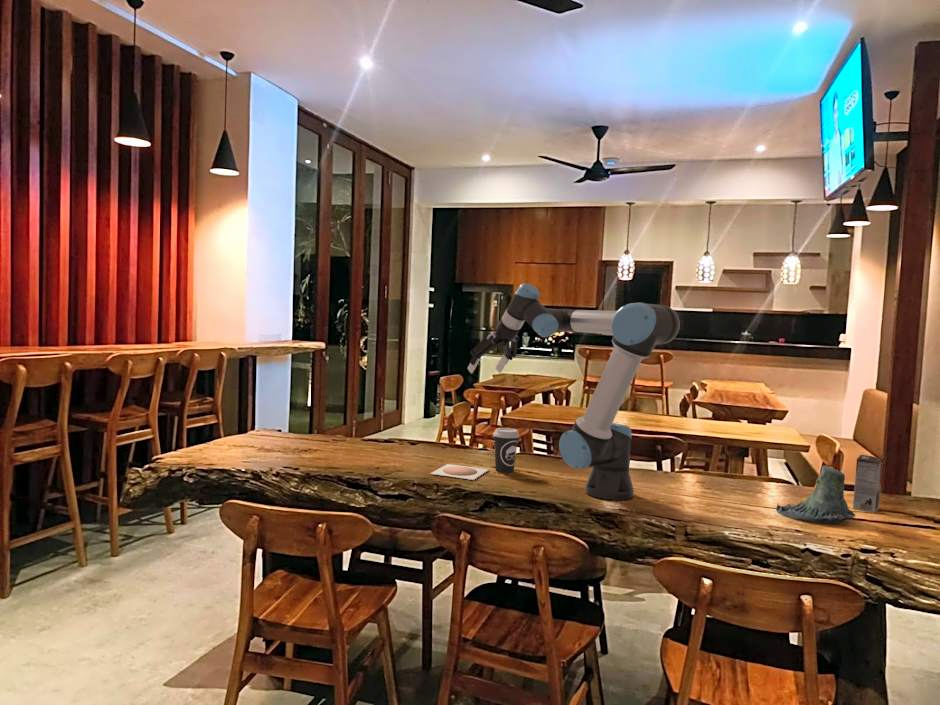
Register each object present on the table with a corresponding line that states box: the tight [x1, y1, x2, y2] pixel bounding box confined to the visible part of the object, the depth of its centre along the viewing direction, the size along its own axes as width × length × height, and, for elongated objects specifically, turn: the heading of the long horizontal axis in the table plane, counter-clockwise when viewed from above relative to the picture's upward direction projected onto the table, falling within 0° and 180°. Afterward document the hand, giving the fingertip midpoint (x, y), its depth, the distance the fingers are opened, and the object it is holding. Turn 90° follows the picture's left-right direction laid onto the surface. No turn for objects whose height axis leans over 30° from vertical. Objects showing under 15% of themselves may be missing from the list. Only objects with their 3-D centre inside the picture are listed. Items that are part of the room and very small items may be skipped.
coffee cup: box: [492, 427, 520, 474], centre depth 229 cm, size 10×10×15 cm
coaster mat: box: [429, 463, 490, 482], centre depth 223 cm, size 16×16×1 cm
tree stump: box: [775, 465, 856, 525], centre depth 190 cm, size 18×20×18 cm
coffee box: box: [852, 454, 884, 514], centre depth 201 cm, size 9×6×16 cm
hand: (484, 370), depth 230 cm, fingers open, 13 cm apart
